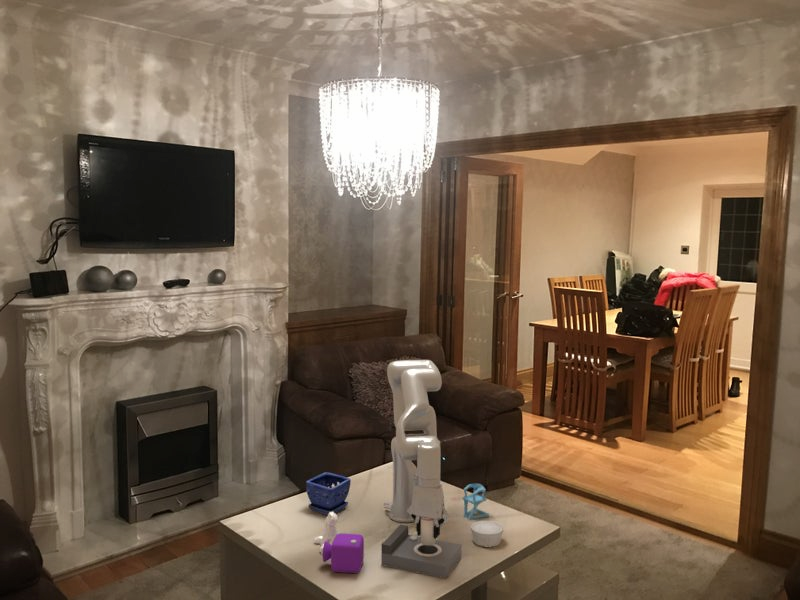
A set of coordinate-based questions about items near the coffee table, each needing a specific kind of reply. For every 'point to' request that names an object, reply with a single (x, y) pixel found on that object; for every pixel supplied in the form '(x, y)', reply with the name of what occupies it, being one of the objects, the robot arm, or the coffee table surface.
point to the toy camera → (345, 552)
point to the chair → (474, 501)
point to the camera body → (419, 554)
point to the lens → (427, 531)
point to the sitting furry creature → (328, 530)
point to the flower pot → (328, 492)
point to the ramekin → (486, 533)
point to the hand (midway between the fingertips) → (428, 534)
